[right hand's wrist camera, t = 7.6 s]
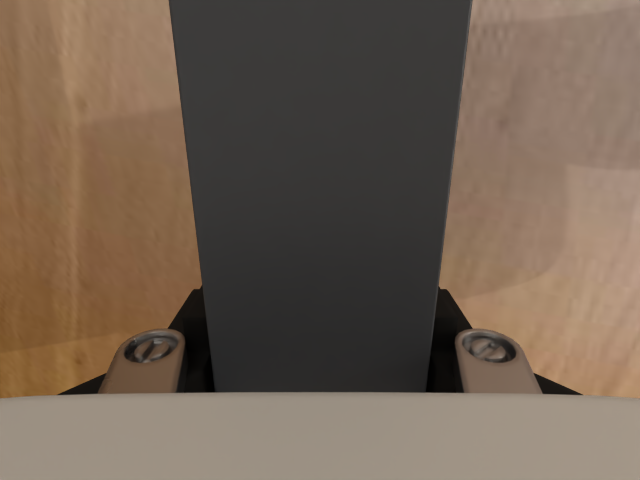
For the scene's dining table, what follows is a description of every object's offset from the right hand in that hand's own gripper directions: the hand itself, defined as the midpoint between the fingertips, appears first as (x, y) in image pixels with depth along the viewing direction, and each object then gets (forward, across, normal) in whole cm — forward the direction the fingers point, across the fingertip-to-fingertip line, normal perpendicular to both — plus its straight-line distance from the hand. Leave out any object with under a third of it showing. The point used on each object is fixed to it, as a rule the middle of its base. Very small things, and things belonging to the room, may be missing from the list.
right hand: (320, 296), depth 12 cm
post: (+2, 0, -30) cm, 30 cm away
